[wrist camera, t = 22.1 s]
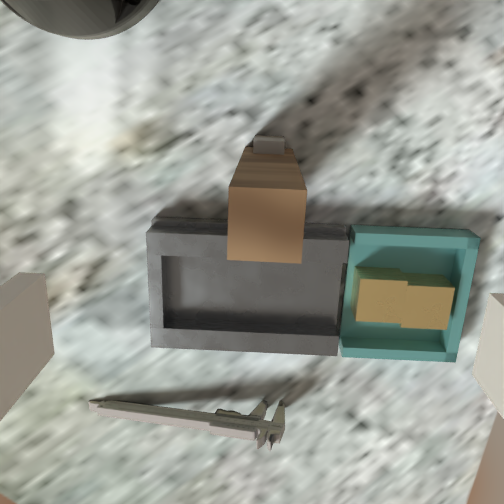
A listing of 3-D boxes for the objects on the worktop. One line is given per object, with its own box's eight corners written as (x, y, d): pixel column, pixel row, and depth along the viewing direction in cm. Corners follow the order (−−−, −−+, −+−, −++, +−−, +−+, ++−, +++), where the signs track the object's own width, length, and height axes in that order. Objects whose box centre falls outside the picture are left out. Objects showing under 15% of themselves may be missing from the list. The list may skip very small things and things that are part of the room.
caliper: (284, 398, 49) (285, 441, 43) (284, 407, 49) (285, 451, 43) (89, 398, 50) (65, 440, 44) (91, 407, 50) (67, 450, 44)
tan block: (398, 272, 43) (407, 285, 40) (442, 274, 43) (455, 287, 40) (392, 312, 44) (400, 327, 41) (435, 314, 44) (446, 329, 41)
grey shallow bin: (154, 216, 42) (145, 226, 39) (344, 224, 42) (349, 235, 39) (159, 334, 46) (151, 351, 43) (332, 342, 46) (336, 360, 43)
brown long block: (245, 134, 40) (229, 166, 24) (293, 136, 40) (308, 170, 24) (243, 204, 42) (226, 277, 26) (288, 206, 42) (299, 280, 26)
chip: (354, 266, 43) (360, 278, 40) (399, 268, 43) (408, 281, 40) (350, 306, 44) (355, 321, 41) (393, 308, 44) (401, 323, 41)
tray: (350, 224, 42) (355, 232, 40) (468, 229, 42) (480, 238, 39) (338, 343, 46) (342, 356, 44) (446, 348, 46) (455, 362, 43)
